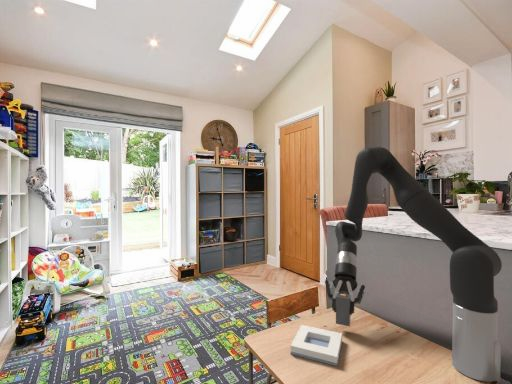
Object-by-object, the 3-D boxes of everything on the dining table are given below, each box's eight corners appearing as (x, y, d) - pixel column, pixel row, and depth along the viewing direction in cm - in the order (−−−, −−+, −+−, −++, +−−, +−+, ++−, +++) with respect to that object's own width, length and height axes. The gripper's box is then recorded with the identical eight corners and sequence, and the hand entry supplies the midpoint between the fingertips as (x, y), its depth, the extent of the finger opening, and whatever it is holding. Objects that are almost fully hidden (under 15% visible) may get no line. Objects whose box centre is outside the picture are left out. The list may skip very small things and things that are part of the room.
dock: (342, 341, 84) (342, 333, 84) (337, 366, 72) (337, 356, 72) (301, 332, 89) (301, 324, 89) (290, 354, 77) (290, 345, 77)
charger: (350, 321, 91) (350, 293, 91) (349, 326, 88) (349, 297, 88) (337, 318, 93) (337, 291, 93) (335, 323, 89) (335, 295, 89)
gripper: (325, 259, 100) (319, 304, 89) (366, 263, 94) (365, 312, 83) (327, 269, 105) (322, 313, 94) (366, 274, 99) (366, 321, 88)
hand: (342, 312), depth 88 cm, fingers closed on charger, 4 cm apart
